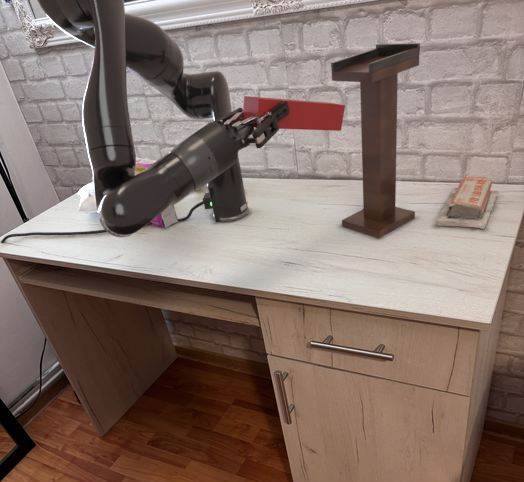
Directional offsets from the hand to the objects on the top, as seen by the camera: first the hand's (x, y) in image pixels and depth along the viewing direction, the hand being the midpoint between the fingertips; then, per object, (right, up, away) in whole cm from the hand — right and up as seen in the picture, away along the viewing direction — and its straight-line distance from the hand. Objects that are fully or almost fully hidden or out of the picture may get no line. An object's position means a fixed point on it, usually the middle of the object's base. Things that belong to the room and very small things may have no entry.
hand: (277, 104), depth 83 cm
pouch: (-48, +2, +64) cm, 80 cm away
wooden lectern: (+24, -14, +26) cm, 38 cm away
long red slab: (+3, -2, +4) cm, 6 cm away
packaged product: (+43, -12, +24) cm, 51 cm away
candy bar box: (-31, -8, +47) cm, 57 cm away
